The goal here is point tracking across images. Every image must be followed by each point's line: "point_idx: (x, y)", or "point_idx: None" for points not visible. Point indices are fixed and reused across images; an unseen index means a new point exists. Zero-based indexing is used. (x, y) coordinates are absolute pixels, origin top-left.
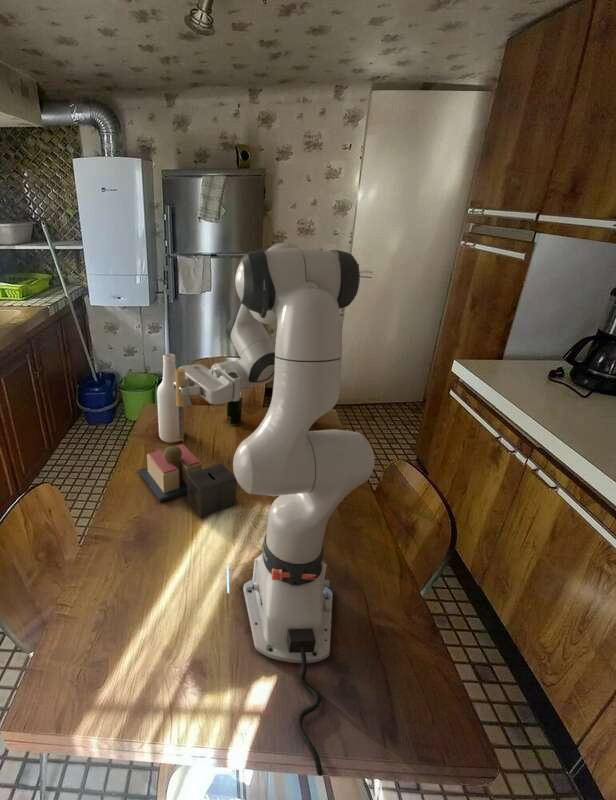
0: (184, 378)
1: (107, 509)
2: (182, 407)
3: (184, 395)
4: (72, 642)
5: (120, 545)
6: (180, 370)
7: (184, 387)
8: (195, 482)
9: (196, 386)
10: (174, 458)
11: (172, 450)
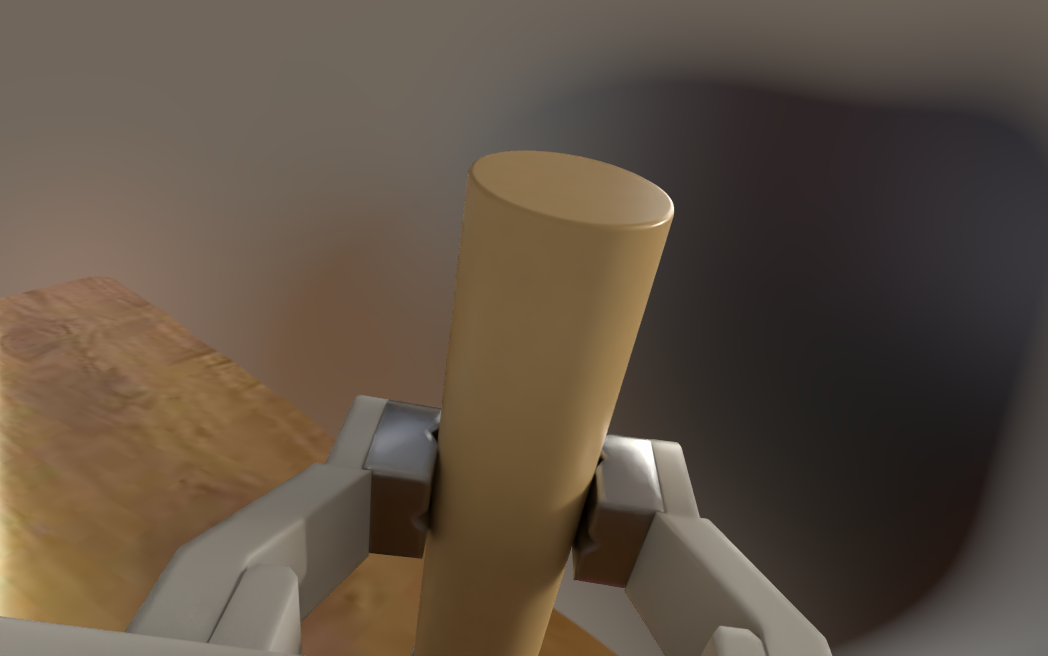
0: (465, 357)
1: None
2: (413, 649)
3: (426, 582)
4: (133, 342)
5: None
6: (548, 176)
7: (378, 430)
8: None
9: (198, 586)
10: None
11: None
